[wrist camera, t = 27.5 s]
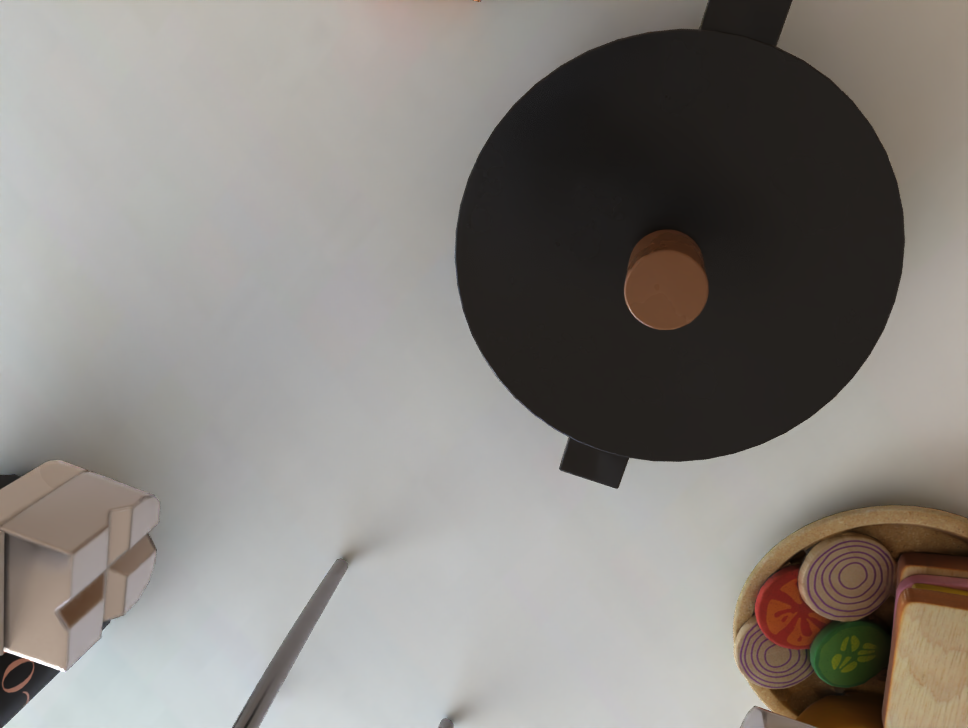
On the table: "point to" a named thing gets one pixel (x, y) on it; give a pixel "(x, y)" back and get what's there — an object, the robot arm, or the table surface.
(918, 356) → the table surface
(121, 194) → the table surface
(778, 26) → the pan
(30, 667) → the coffee jar
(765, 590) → the toy sandwich meal
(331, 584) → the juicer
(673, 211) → the lid
